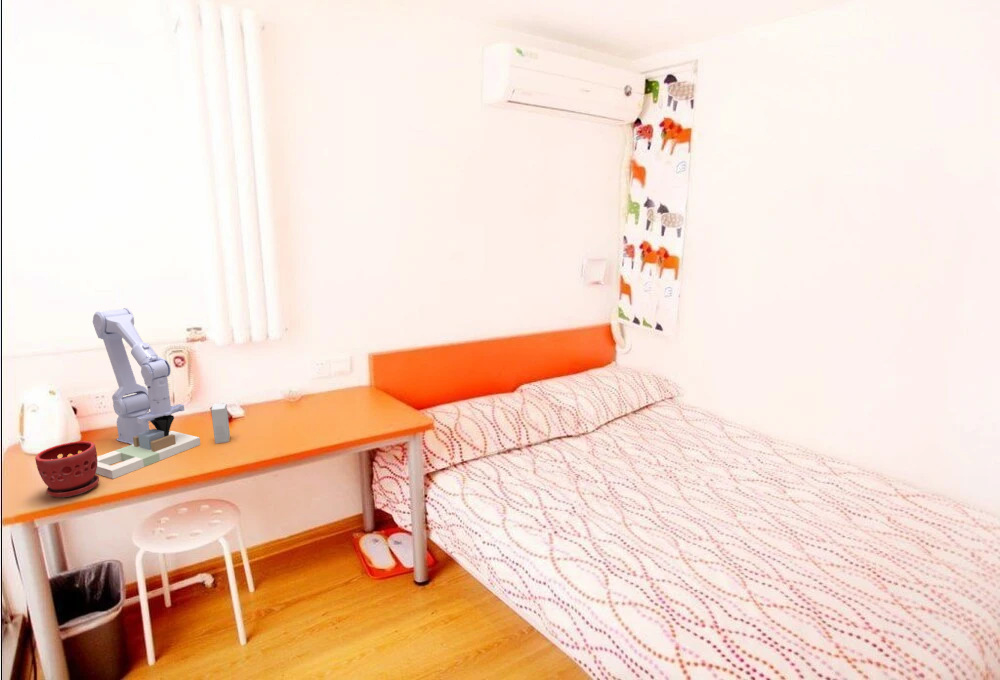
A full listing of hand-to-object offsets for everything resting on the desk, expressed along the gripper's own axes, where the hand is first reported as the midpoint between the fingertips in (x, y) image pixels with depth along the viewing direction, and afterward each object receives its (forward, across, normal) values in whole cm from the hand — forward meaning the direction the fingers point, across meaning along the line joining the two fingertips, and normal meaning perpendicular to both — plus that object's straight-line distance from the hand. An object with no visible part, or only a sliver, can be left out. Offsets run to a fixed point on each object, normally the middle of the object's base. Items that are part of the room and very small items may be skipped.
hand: (164, 438), depth 183 cm
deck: (+4, -7, 0) cm, 8 cm away
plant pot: (+4, -30, -4) cm, 30 cm away
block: (+1, -4, 0) cm, 4 cm away
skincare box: (+4, +13, -10) cm, 17 cm away
